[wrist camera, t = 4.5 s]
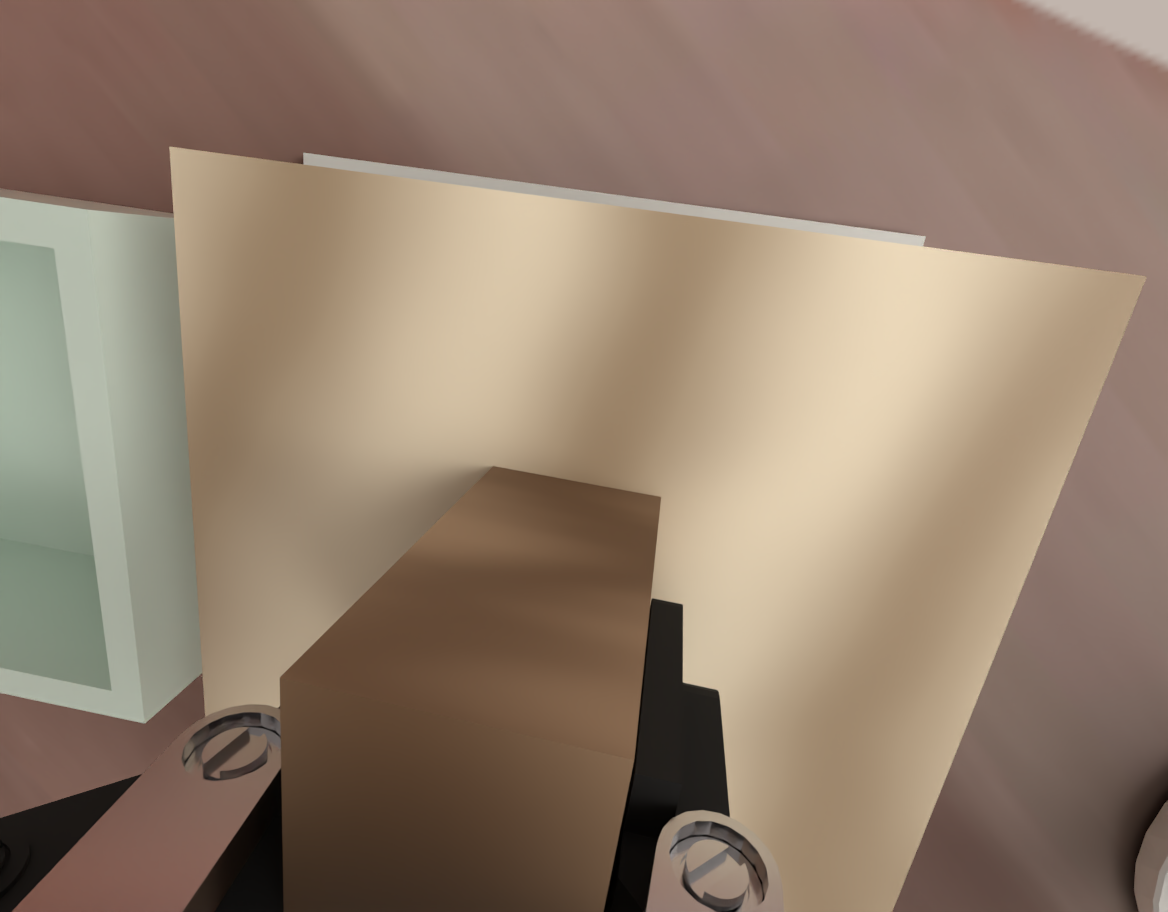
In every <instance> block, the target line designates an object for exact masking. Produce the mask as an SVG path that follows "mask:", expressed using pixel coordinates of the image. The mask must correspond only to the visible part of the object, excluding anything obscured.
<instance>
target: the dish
mask: <svg viewBox="0 0 1168 912" xmlns="http://www.w3.org/2000/svg"><path fill="white" fill-rule="evenodd" d="M200 674H202V657H201V642H200V626H199V610H198V594H197V578H196V562H195V546H194V530H193V514H192V498H191V483H190V467H189V451H188V435H187V419H186V403H185V387H184V371H183V355H182V339H181V323H180V308H179V292H178V276H177V260H176V244H175V228H174V213H167V212H161V211H154V210H147V209H140V208H133V207H126V206H119V205H112V204H105V203H98V202H92V201H85V200H78V199H71V198H64V197H57V196H50V195H43V194H36V193H30V192H23V191H16V190H9V189H2V188H0V693H3V694H8V695H13V696H17V697H22V698H27V699H32V700H36V701H41V702H46V703H50V704H55V705H60V706H64V707H69V708H74V709H79V710H83V711H88V712H93V713H97V714H102V715H107V716H112V717H116V718H121V719H126V720H130V721H135V722H140V723H144V724H145V723H146V722H147V721H148V720H150V719H151V718H152V717H153V716H154V715H155V714H156V713H157V712H159V711H160V710H161V709H162V708H163V707H164V706H165V705H167V704H168V703H169V702H170V701H171V700H172V699H173V698H174V697H176V696H177V695H178V694H179V693H180V692H181V691H182V690H183V689H185V688H186V687H187V686H188V685H189V684H190V683H191V682H193V681H194V680H195V679H196V678H197V677H198V676H199V675H200Z"/></svg>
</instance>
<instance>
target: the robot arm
mask: <svg viewBox="0 0 1168 912" xmlns="http://www.w3.org/2000/svg"><path fill="white" fill-rule="evenodd" d="M1134 893H1135V897H1136V902H1137V906H1138V911H1139V912H1168V800H1167V801H1166V802H1165V804H1164V805H1163V807H1162V808H1161V810H1160V811H1159V813H1158V815H1157V816H1156V818H1155V819H1154V821H1153V822H1152V824H1151V825H1150V827H1149V829H1148V830H1147V832H1146V834H1145V837H1144V840H1143V843H1142V846H1141V849H1140V852H1139V854H1138V857H1137V860H1136V866H1135V882H1134ZM0 912H284V903H283V846H282V788H281V731H280V706H279V707H278V708H276V707H272V706H269V705H257V704H247V705H241V706H234V707H229V708H226V709H223V710H220V711H217V712H214V713H211V714H210V715H208V716H206V717H204V718H202V719H200V720H199V721H197V722H195V723H193V724H192V725H191V726H190V727H188V728H187V729H186V730H185V731H184V732H182V733H181V734H180V735H179V736H178V737H177V738H176V739H175V740H174V741H173V742H172V743H171V744H170V745H169V746H168V748H167V749H166V750H165V751H164V752H163V753H162V754H161V755H160V756H159V757H158V758H157V759H156V760H155V761H154V762H153V763H152V764H151V765H150V766H149V768H148V769H147V770H146V771H145V772H144V773H143V774H141V775H138V776H134V777H131V778H128V779H125V780H122V781H118V782H115V783H112V784H109V785H106V786H102V787H99V788H96V789H93V790H89V791H86V792H83V793H80V794H77V795H73V796H70V797H67V798H64V799H61V800H57V801H54V802H51V803H48V804H44V805H41V806H38V807H35V808H32V809H28V810H25V811H22V812H19V813H16V814H12V815H9V816H6V817H3V818H0ZM604 912H784V903H783V886H782V881H781V877H780V872H779V868H778V865H777V864H776V862H775V860H774V858H773V856H772V854H771V852H770V850H769V849H768V848H767V847H766V845H765V844H764V843H763V842H762V841H761V840H760V839H759V837H758V836H757V835H756V834H755V833H754V832H752V831H751V830H750V829H748V828H747V827H746V826H744V825H743V824H741V823H740V822H739V821H737V820H734V819H732V818H730V812H729V800H728V788H727V776H726V764H725V752H724V741H723V729H722V717H721V705H720V696H719V692H718V690H715V689H710V688H706V687H701V686H697V685H692V684H687V683H683V604H679V603H674V602H669V601H664V600H659V599H654V598H652V600H651V605H650V611H649V621H648V631H647V641H646V650H645V660H644V670H643V679H642V689H641V699H640V709H639V718H638V728H637V738H636V748H635V757H634V764H633V769H632V774H631V779H630V783H629V788H628V793H627V798H626V803H625V808H624V813H623V818H622V823H621V828H620V833H619V838H618V843H617V848H616V853H615V858H614V863H613V867H612V872H611V877H610V882H609V887H608V892H607V897H606V902H605V907H604Z"/></svg>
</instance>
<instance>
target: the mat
mask: <svg viewBox="0 0 1168 912" xmlns="http://www.w3.org/2000/svg"><path fill="white" fill-rule="evenodd" d="M303 154H304V165H312V166H319V167H327V168H334V169H342V170H349V171H357V172H364V173H372V174H379V175H387V176H394V177H402V178H410V179H417V180H425V181H432V182H440V183H447V184H455V185H462V186H470V187H477V188H485V189H492V190H500V191H508V192H515V193H523V194H530V195H538V196H545V197H553V198H560V199H568V200H575V201H583V202H590V203H598V204H606V205H613V206H621V207H628V208H636V209H643V210H651V211H658V212H666V213H673V214H681V215H688V216H696V217H703V218H711V219H719V220H726V221H734V222H741V223H749V224H756V225H764V226H771V227H779V228H786V229H794V230H801V231H809V232H817V233H824V234H832V235H839V236H847V237H854V238H862V239H869V240H877V241H884V242H892V243H899V244H907V245H914V246H922V247H923V244H924V241H925V237H926V236H918V235H911V234H904V233H896V232H889V231H881V230H874V229H867V228H859V227H852V226H844V225H837V224H829V223H822V222H815V221H807V220H800V219H792V218H785V217H777V216H770V215H763V214H755V213H748V212H740V211H733V210H725V209H718V208H711V207H703V206H696V205H688V204H681V203H673V202H666V201H659V200H651V199H644V198H636V197H629V196H621V195H614V194H607V193H599V192H592V191H584V190H577V189H570V188H562V187H555V186H547V185H540V184H532V183H525V182H518V181H510V180H503V179H495V178H488V177H480V176H473V175H466V174H458V173H451V172H443V171H436V170H428V169H421V168H414V167H406V166H399V165H391V164H384V163H376V162H369V161H362V160H354V159H347V158H339V157H332V156H325V155H317V154H310V153H303Z"/></svg>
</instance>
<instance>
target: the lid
mask: <svg viewBox="0 0 1168 912" xmlns="http://www.w3.org/2000/svg"><path fill="white" fill-rule="evenodd" d="M169 149H170V164H171V180H172V196H173V212H174V228H175V244H176V260H177V276H178V292H179V308H180V323H181V339H182V355H183V371H184V387H185V403H186V419H187V435H188V451H189V467H190V483H191V498H192V514H193V530H194V546H195V562H196V578H197V594H198V610H199V626H200V642H201V657H202V673H203V689H204V705H205V717H206V716H208V715H210V714H211V713H214V712H217V711H220V710H223V709H226V708H229V707H234V706H241V705H247V704H257V705H269V706H272V707H276V708H278V707H279V706H280V731H281V788H282V846H283V903H284V912H604V907H605V902H606V897H607V892H608V887H609V882H610V877H611V872H612V867H613V863H614V858H615V853H616V848H617V843H618V838H619V833H620V828H621V823H622V818H623V813H624V808H625V803H626V798H627V793H628V788H629V783H630V779H631V774H632V769H633V764H634V757H635V748H636V738H637V728H638V718H639V709H640V699H641V689H642V679H643V670H644V660H645V650H646V641H647V631H648V621H649V611H650V605H651V600H652V598H654V599H659V600H664V601H669V602H674V603H679V604H683V683H687V684H692V685H697V686H701V687H706V688H710V689H715V690H718V692H719V696H720V705H721V717H722V729H723V741H724V752H725V764H726V776H727V788H728V800H729V812H730V818H732V819H734V820H737V821H739V822H740V823H741V824H743V825H744V826H746V827H747V828H748V829H750V830H751V831H752V832H754V833H755V834H756V835H757V836H758V837H759V839H760V840H761V841H762V842H763V843H764V844H765V845H766V847H767V848H768V849H769V850H770V852H771V854H772V856H773V858H774V860H775V862H776V864H777V865H778V868H779V872H780V877H781V881H782V886H783V903H784V912H892V911H893V909H894V906H895V904H896V901H897V899H898V896H899V894H900V891H901V889H902V886H903V884H904V881H905V879H906V876H907V874H908V871H909V869H910V866H911V864H912V861H913V859H914V856H915V854H916V851H917V849H918V846H919V844H920V841H921V839H922V836H923V834H924V831H925V829H926V826H927V824H928V821H929V819H930V816H931V814H932V811H933V809H934V806H935V804H936V801H937V799H938V796H939V794H940V791H941V789H942V786H943V784H944V781H945V779H946V776H947V774H948V771H949V769H950V766H951V764H952V761H953V759H954V756H955V754H956V751H957V749H958V746H959V744H960V741H961V739H962V736H963V734H964V731H965V729H966V726H967V724H968V721H969V719H970V716H971V714H972V712H973V709H974V707H975V704H976V702H977V699H978V697H979V694H980V692H981V689H982V687H983V684H984V682H985V679H986V677H987V674H988V672H989V669H990V667H991V664H992V662H993V659H994V657H995V654H996V652H997V649H998V647H999V644H1000V642H1001V639H1002V637H1003V634H1004V632H1005V629H1006V627H1007V624H1008V622H1009V619H1010V617H1011V614H1012V612H1013V609H1014V607H1015V604H1016V602H1017V599H1018V597H1019V594H1020V592H1021V589H1022V587H1023V584H1024V582H1025V579H1026V577H1027V574H1028V572H1029V569H1030V567H1031V564H1032V562H1033V559H1034V557H1035V554H1036V552H1037V549H1038V547H1039V544H1040V542H1041V539H1042V537H1043V534H1044V532H1045V529H1046V527H1047V524H1048V522H1049V519H1050V517H1051V514H1052V512H1053V509H1054V507H1055V504H1056V502H1057V499H1058V497H1059V494H1060V492H1061V489H1062V487H1063V484H1064V482H1065V479H1066V477H1067V474H1068V472H1069V469H1070V467H1071V464H1072V462H1073V460H1074V457H1075V455H1076V452H1077V450H1078V447H1079V445H1080V442H1081V440H1082V437H1083V435H1084V432H1085V430H1086V427H1087V425H1088V422H1089V420H1090V417H1091V415H1092V412H1093V410H1094V407H1095V405H1096V402H1097V400H1098V397H1099V395H1100V392H1101V390H1102V387H1103V385H1104V382H1105V380H1106V377H1107V375H1108V372H1109V370H1110V367H1111V365H1112V362H1113V360H1114V357H1115V355H1116V352H1117V350H1118V347H1119V345H1120V342H1121V340H1122V337H1123V335H1124V332H1125V330H1126V327H1127V325H1128V322H1129V320H1130V317H1131V315H1132V312H1133V310H1134V307H1135V305H1136V302H1137V300H1138V297H1139V295H1140V292H1141V290H1142V287H1143V285H1144V282H1145V280H1146V277H1147V276H1141V275H1133V274H1126V273H1118V272H1110V271H1103V270H1095V269H1088V268H1080V267H1073V266H1065V265H1058V264H1050V263H1043V262H1035V261H1028V260H1020V259H1012V258H1005V257H997V256H990V255H982V254H975V253H967V252H960V251H952V250H945V249H937V248H930V247H922V246H914V245H907V244H899V243H892V242H884V241H877V240H869V239H862V238H854V237H847V236H839V235H832V234H824V233H817V232H809V231H801V230H794V229H786V228H779V227H771V226H764V225H756V224H749V223H741V222H734V221H726V220H719V219H711V218H703V217H696V216H688V215H681V214H673V213H666V212H658V211H651V210H643V209H636V208H628V207H621V206H613V205H606V204H598V203H590V202H583V201H575V200H568V199H560V198H553V197H545V196H538V195H530V194H523V193H515V192H508V191H500V190H492V189H485V188H477V187H470V186H462V185H455V184H447V183H440V182H432V181H425V180H417V179H410V178H402V177H394V176H387V175H379V174H372V173H364V172H357V171H349V170H342V169H334V168H327V167H319V166H312V165H304V164H297V163H289V162H281V161H274V160H266V159H259V158H251V157H244V156H236V155H229V154H221V153H214V152H206V151H199V150H191V149H183V148H176V147H169Z"/></svg>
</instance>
